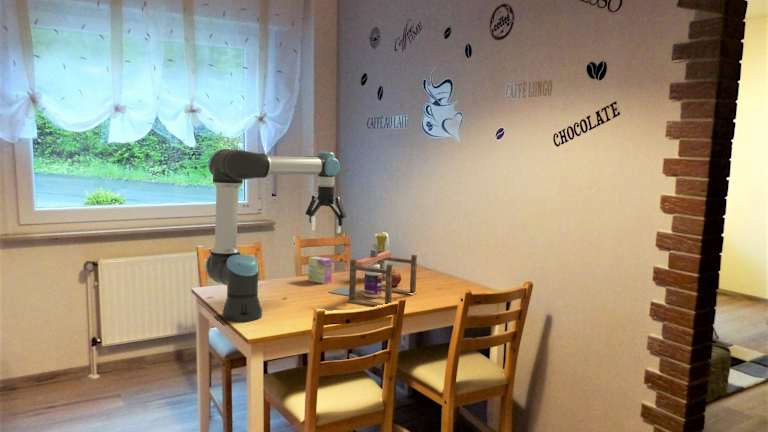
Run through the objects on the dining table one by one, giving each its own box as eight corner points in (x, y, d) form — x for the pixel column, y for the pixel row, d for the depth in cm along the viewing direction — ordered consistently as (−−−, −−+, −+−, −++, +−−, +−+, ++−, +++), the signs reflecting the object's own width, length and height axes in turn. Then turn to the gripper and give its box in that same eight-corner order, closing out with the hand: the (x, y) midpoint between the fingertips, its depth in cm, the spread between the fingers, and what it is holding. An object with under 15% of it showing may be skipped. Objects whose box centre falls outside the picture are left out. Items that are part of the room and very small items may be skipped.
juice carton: (387, 280, 294) (389, 234, 291) (372, 280, 294) (373, 233, 291) (387, 276, 303) (389, 231, 300) (372, 276, 303) (374, 230, 300)
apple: (392, 282, 290) (393, 267, 289) (404, 285, 284) (404, 269, 283) (381, 285, 284) (381, 269, 283) (392, 288, 279) (393, 272, 278)
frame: (388, 309, 244) (389, 265, 241) (347, 302, 252) (348, 260, 250) (416, 293, 270) (417, 254, 268) (379, 287, 279) (380, 250, 277)
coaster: (351, 296, 262) (351, 295, 262) (328, 292, 267) (328, 291, 267) (363, 290, 272) (363, 289, 272) (341, 287, 278) (341, 286, 278)
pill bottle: (379, 299, 259) (380, 267, 257) (362, 297, 260) (363, 266, 259) (383, 294, 267) (384, 263, 265) (366, 293, 268) (367, 262, 266)
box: (331, 282, 287) (332, 258, 286) (324, 284, 283) (324, 260, 281) (315, 278, 293) (315, 255, 291) (308, 280, 288) (308, 257, 287)
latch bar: (361, 266, 248) (361, 255, 247) (355, 266, 249) (355, 254, 249) (391, 256, 274) (391, 245, 273) (385, 255, 275) (385, 245, 274)
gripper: (354, 186, 264) (353, 232, 267) (307, 183, 274) (306, 228, 277) (346, 187, 257) (345, 235, 260) (298, 184, 267) (298, 230, 270)
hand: (325, 231), depth 269 cm, fingers open, 13 cm apart
